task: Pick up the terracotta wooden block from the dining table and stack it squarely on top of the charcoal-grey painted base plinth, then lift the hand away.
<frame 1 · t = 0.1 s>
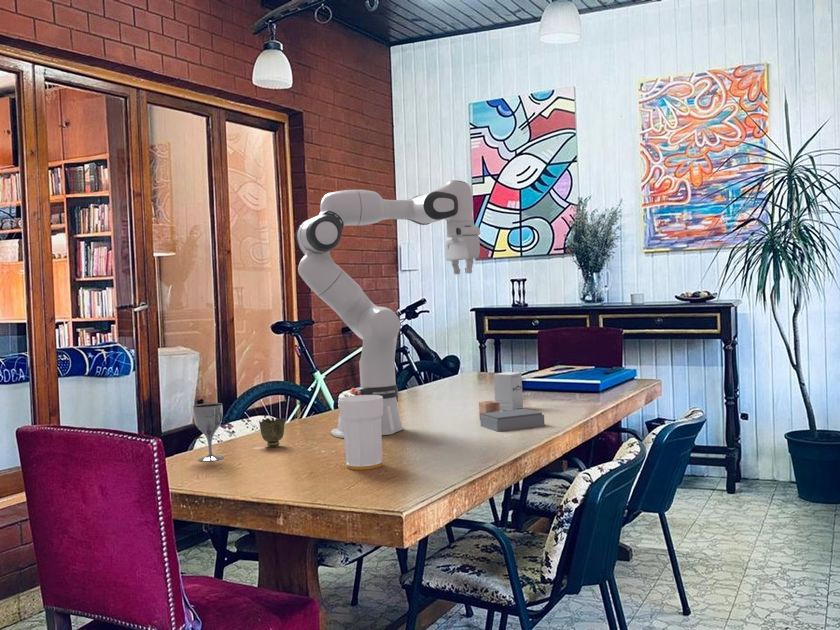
hand: (462, 273, 279), 48 cm above the table, tool pointing down, fingers open, 8 cm apart
cup 2: (273, 447, 252), on the table
plinth: (512, 425, 266), on the table
wine glass: (210, 459, 238), on the table
supplement box: (509, 409, 301), on the table
terracotta block: (489, 420, 279), on the table
cup: (364, 466, 218), on the table
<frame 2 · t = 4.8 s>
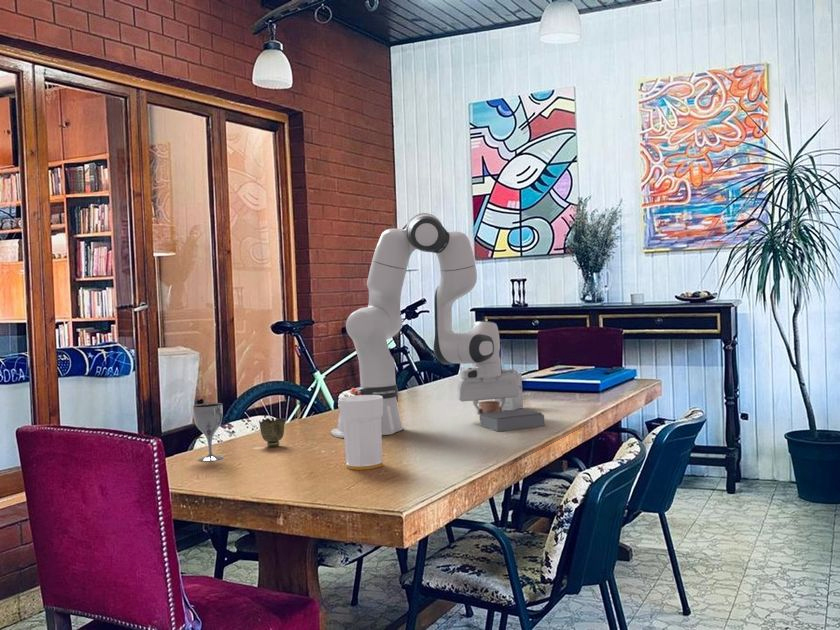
hand: (489, 413, 279), 2 cm above the table, tool pointing down, fingers closed on terracotta block, 5 cm apart
terracotta block: (489, 420, 279), on the table, touching gripper
everything else where it was.
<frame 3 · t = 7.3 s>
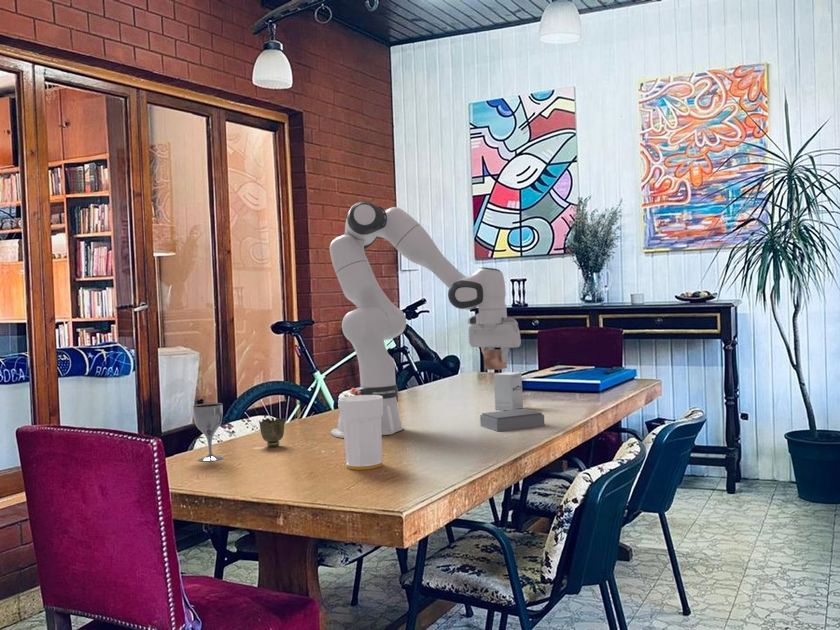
hand: (495, 361, 274), 19 cm above the table, tool pointing down, fingers closed on terracotta block, 5 cm apart
terracotta block: (495, 368, 274), point 17 cm above the table, touching gripper
everything else where it was.
when the fingers open (8 cm above the table, at t = 10.3 s): terracotta block drops 1 cm, resting on plinth.
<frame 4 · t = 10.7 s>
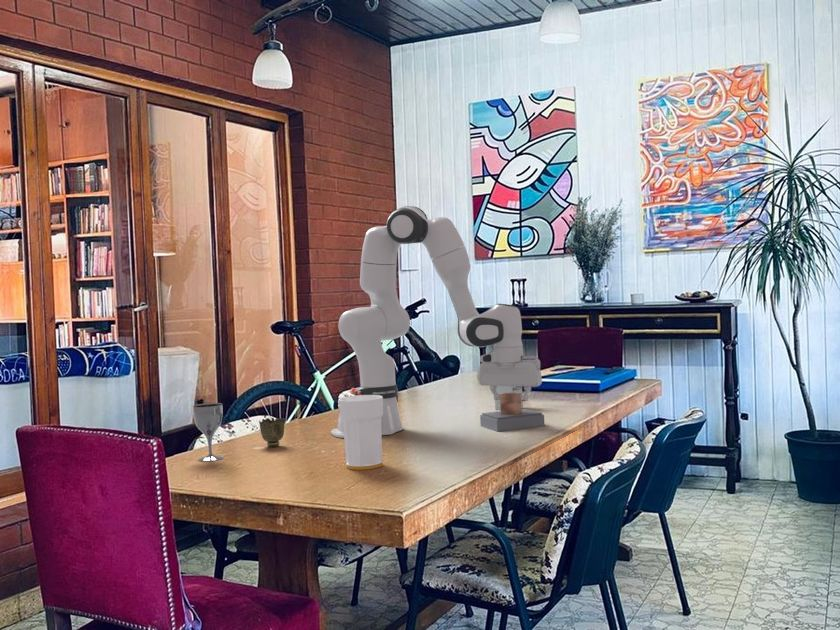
hand: (510, 400, 266), 8 cm above the table, tool pointing down, fingers open, 8 cm apart
terracotta block: (511, 413, 266), point 4 cm above the table, touching plinth
everything else where it was.
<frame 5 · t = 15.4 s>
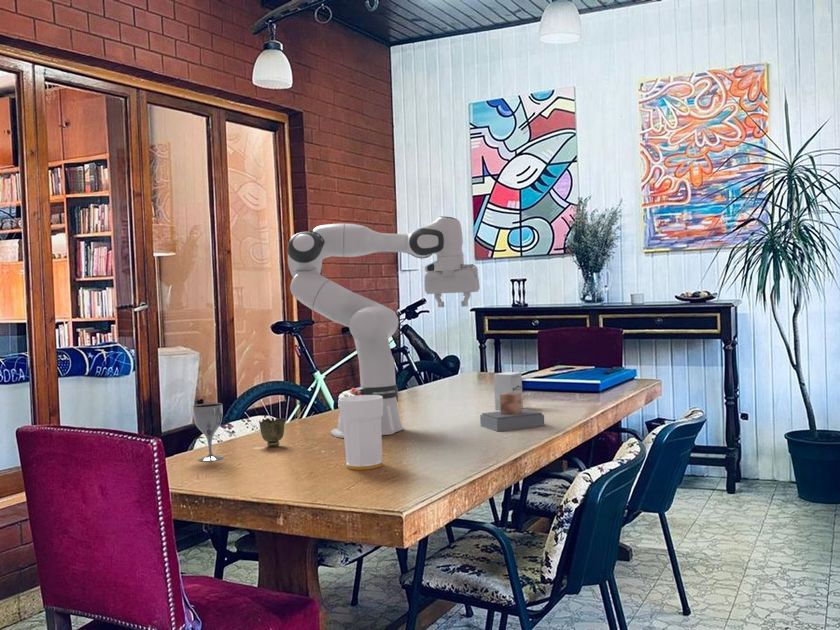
hand: (452, 306, 287), 37 cm above the table, tool pointing down, fingers open, 8 cm apart
nothing on the table moved.
at the end: terracotta block inside the target area on the plinth (0.1 cm from its centre), point 4.0 cm above the plinth's base; terracotta block tilted 0°; the gripper is holding nothing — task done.
